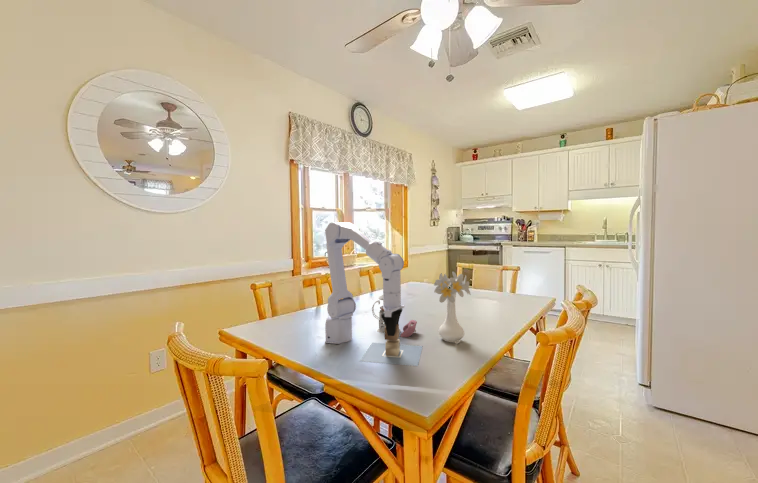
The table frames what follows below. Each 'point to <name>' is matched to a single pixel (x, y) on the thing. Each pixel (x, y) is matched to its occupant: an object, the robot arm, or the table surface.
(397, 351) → the birch block
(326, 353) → the table surface
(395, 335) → the walnut block
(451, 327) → the flower vase
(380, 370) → the table surface
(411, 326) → the video game controller
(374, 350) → the board
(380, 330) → the french press
